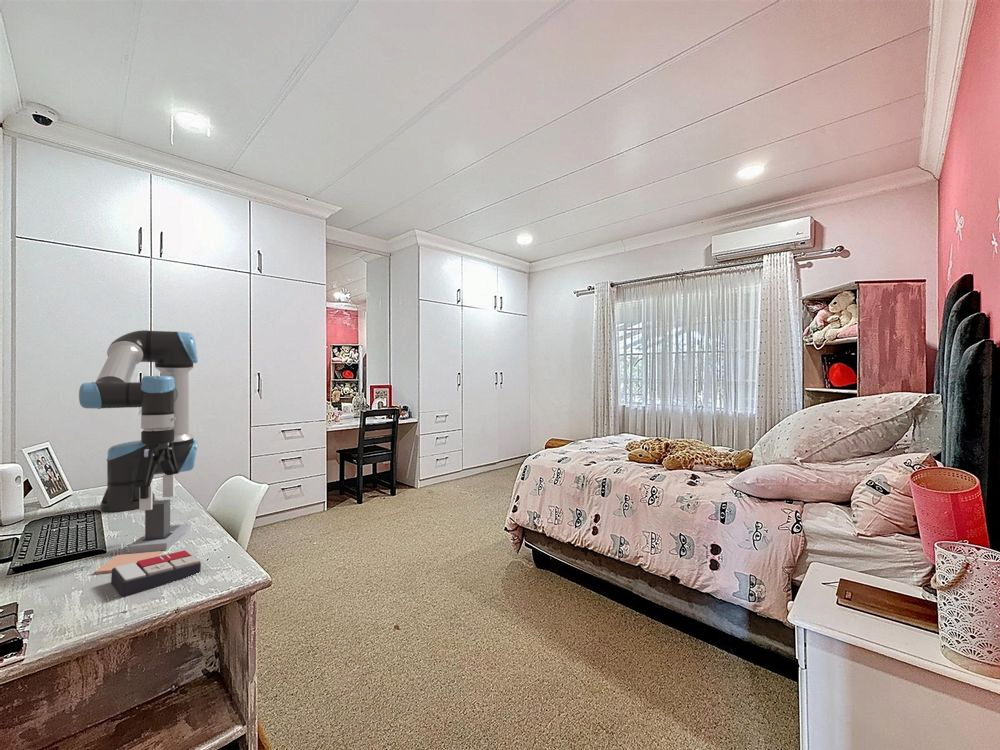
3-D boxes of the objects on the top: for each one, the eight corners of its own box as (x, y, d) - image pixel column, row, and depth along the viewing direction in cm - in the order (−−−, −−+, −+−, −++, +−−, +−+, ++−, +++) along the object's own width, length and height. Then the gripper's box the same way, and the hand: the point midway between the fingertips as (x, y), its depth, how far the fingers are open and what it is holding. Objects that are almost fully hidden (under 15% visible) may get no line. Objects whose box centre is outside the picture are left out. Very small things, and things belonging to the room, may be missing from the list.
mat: (117, 557, 116) (117, 555, 116) (161, 553, 119) (161, 551, 119) (93, 574, 106) (93, 571, 106) (142, 569, 109) (142, 567, 109)
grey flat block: (156, 532, 134) (156, 525, 134) (190, 529, 136) (190, 523, 136) (127, 553, 118) (127, 546, 118) (166, 550, 121) (166, 542, 121)
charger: (152, 541, 127) (152, 500, 127) (170, 540, 128) (170, 499, 128) (145, 547, 123) (145, 504, 123) (163, 545, 124) (163, 503, 124)
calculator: (201, 559, 108) (123, 579, 96) (200, 577, 107) (121, 598, 96) (186, 548, 114) (111, 565, 103) (185, 564, 114) (110, 583, 102)
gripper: (152, 434, 114) (151, 514, 114) (190, 424, 138) (190, 490, 138) (117, 435, 112) (117, 517, 112) (162, 424, 136) (162, 492, 136)
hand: (157, 503), depth 125 cm, fingers open, 13 cm apart
